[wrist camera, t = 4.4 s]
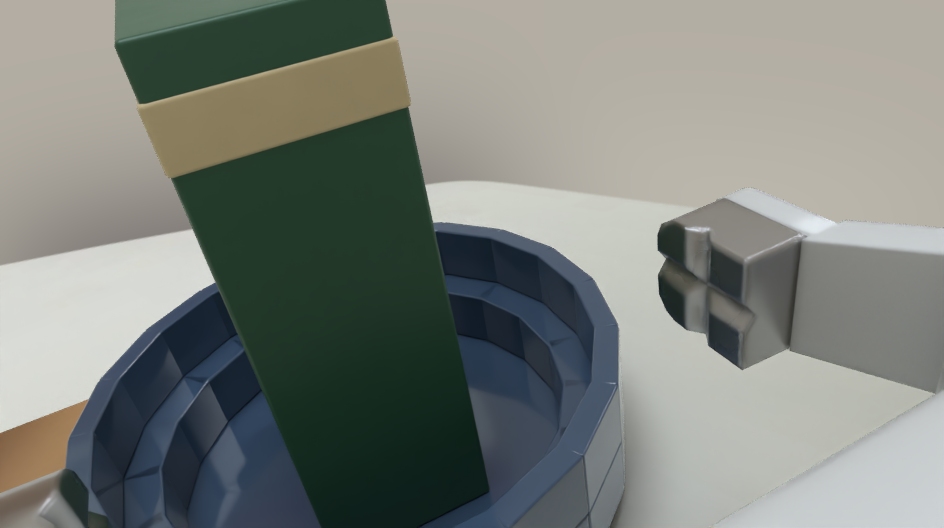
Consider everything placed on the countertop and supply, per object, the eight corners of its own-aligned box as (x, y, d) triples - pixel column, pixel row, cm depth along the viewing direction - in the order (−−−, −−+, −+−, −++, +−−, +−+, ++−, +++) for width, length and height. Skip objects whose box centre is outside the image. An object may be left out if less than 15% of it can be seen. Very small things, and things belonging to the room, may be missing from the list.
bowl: (488, 277, 26) (471, 184, 24) (743, 528, 15) (753, 399, 13) (133, 418, 22) (77, 322, 20) (148, 881, 12) (33, 778, 10)
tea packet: (408, 360, 22) (300, -44, 15) (494, 492, 17) (385, -24, 10) (283, 413, 20) (110, -2, 14) (336, 571, 15) (107, 43, 9)
